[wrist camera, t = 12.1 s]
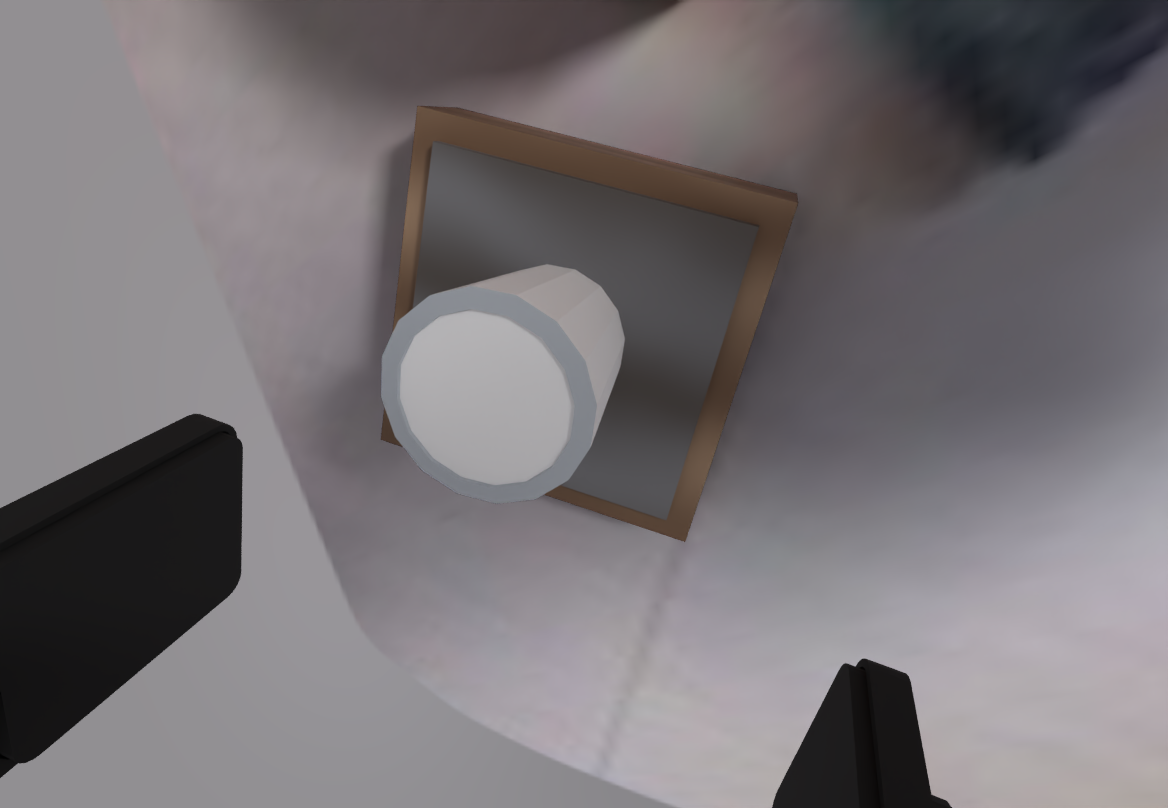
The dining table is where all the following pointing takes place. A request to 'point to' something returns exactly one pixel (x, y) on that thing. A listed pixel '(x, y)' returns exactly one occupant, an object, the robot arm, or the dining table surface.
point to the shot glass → (503, 381)
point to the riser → (607, 283)
